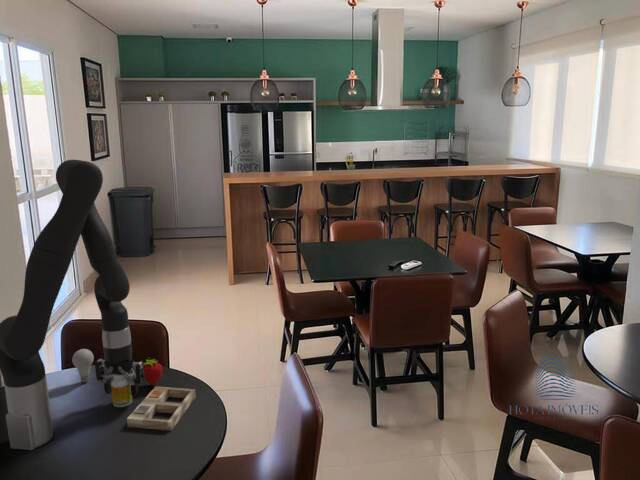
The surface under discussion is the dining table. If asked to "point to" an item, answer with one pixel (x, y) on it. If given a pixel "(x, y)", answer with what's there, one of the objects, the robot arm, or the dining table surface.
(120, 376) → the supplement bottle
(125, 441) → the dining table surface
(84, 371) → the lightbulb
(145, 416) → the socket plate
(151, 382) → the strawberry
